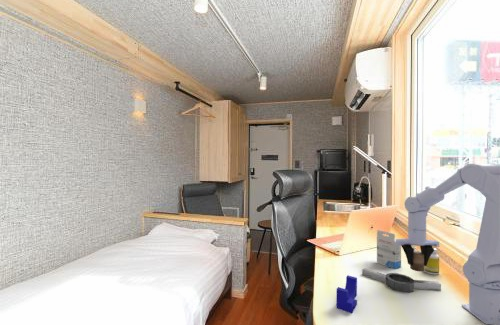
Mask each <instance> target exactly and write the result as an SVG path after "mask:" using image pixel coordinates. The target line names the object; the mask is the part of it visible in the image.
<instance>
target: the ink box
mask: <svg viewBox="0 0 500 325" xmlns="http://www.w3.org/2000/svg"><path fill="white" fill-rule="evenodd" d="M376 232H377V233H376V263H377V264H381V265H383V266H385V267H389V268H391V269H394V270H396V269H398V268H401V267H402V246H401V245H397V244H396V239H397V238H395V237H396V234H395V233H393V232H387V231H383V230H379V229H377V230H376Z"/></svg>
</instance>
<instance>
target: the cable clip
mask: <svg viewBox="0 0 500 325" xmlns="http://www.w3.org/2000/svg"><path fill="white" fill-rule="evenodd" d="M357 295H358V278H357V276H356V277H355V276H351V275H346V277H345V288H343V287H339V286H338V287H337V288H336V303H335V304H336V309H338V310H341V311H344V312H347V313H350V314H353V312H354V310H355V309H356V307H357V306H358V299H356V297H357Z"/></svg>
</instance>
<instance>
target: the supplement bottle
mask: <svg viewBox="0 0 500 325" xmlns="http://www.w3.org/2000/svg"><path fill="white" fill-rule="evenodd" d="M433 248H434V252H433V253H432V254H431V256H430V258H429V260H428V263H427V266H424V271H423V272H424V273H426V274H429V275H435V276H436V275H440V256H439V254H437V253H438V249H437V247H433Z"/></svg>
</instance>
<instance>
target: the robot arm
mask: <svg viewBox="0 0 500 325" xmlns="http://www.w3.org/2000/svg"><path fill="white" fill-rule="evenodd" d="M464 185H468V186H470V187H471V188H473V189H475V190H477V191H478V192H480V193H481V195H483V197H484V198H485V202H484V207H483V212H482V216H481V217H482V218H481V223H480V228H479V233H478V237H477V243H476V247H475V250H473V251H472V252H471V253H470V254H469V255H468V258H467V261H465V263H463V265H462V272H463V275H464V277H465V278H466V279H467V282H468V288H469V289H468V298H469V299H468V302H469V303H468V304H466V303H465V304H464V303H462V304H461V307H463V308H464V309H465V310H467V311H468V312H470V314H472V315H473V316H474V317H475V318H477V319H478V320H480V321H481V322H482V323H484V324H486V325H500V164H496V163H489V164H487V163H486V164H485V163H484V164H482V163H467V164H465V165H464V166H463V167H461V168H459V169H457V171H456V172H455V173H454V174H452V175H451V176H449V177H448V178H447V179H445V180H444V181H443V182H441V183H440V184H438V185H437V186H433V185H432V186H431V185H430V186H426V187H425V188H424V190H423V191H421V192H420V193H418V192H417V193H416V194H415V195H414V196H408V197H407V198H405V200H404V208H405V210H406V211H407V213H408V214H407V216H408V217H407V219H408V220H407V221H408V222H407V226H408V228H407V229H408V230H407V231H408V233H407V234H408V235H407V236H408V237H406V238H395V239H396V244H397V245H401V249H402V250H403V251H404V255H405V257H406V260H407V264H408V265H409V266H410V265H413V252H414V251H415V248H414V247H413V246H415V247H416V246H419V248H420V252H421V253H423V254H424V266H427V263H428V260H429V258H430V256H431V254H432V253H433V252H434V248H439V247H440V241H438V240H436V239H435V240H433V239H427V216H428V213H429V211H430V210H431V207H433V206H435V205H436V204H438V203H440V202H443V200H445V195H446V194H449V193H450V192H452V191H455V190H456V189H458V188H460V187H463V186H464Z"/></svg>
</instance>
